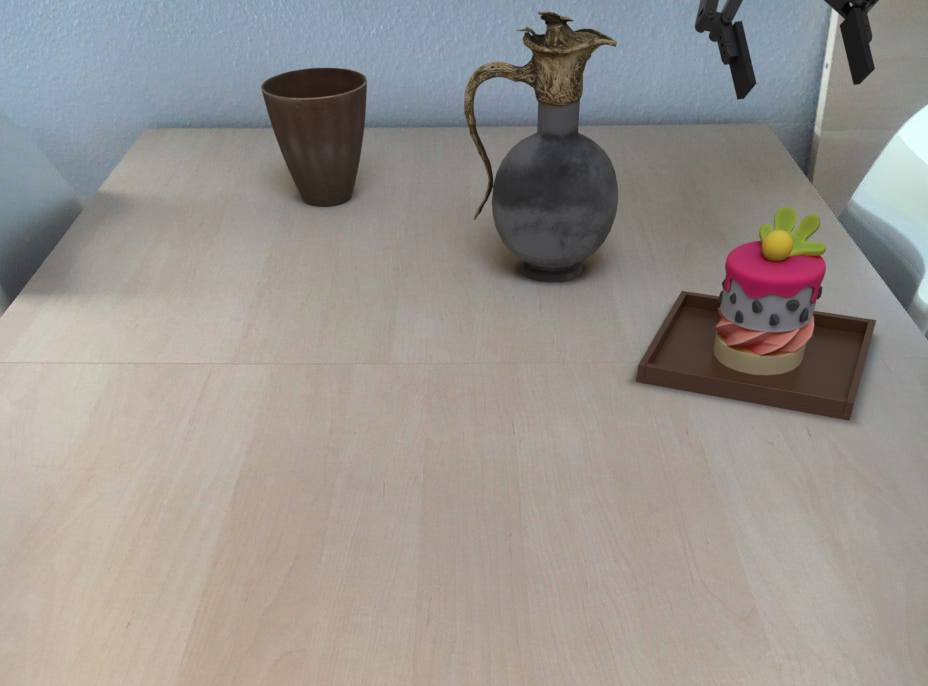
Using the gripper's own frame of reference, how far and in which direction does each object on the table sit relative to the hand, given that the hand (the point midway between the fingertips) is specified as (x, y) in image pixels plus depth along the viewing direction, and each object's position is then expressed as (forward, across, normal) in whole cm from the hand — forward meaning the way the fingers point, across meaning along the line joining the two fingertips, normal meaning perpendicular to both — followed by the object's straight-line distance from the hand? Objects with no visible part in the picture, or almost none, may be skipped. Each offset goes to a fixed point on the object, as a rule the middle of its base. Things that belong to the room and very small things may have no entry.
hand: (806, 84), depth 105 cm
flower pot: (-22, +41, -59) cm, 75 cm away
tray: (+24, +5, -12) cm, 28 cm away
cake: (+24, +5, -12) cm, 27 cm away
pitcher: (+3, +20, -34) cm, 39 cm away
